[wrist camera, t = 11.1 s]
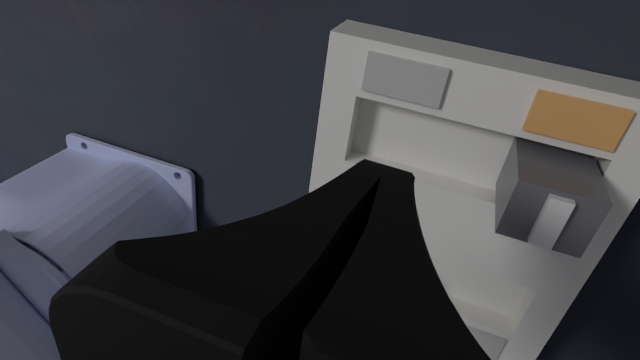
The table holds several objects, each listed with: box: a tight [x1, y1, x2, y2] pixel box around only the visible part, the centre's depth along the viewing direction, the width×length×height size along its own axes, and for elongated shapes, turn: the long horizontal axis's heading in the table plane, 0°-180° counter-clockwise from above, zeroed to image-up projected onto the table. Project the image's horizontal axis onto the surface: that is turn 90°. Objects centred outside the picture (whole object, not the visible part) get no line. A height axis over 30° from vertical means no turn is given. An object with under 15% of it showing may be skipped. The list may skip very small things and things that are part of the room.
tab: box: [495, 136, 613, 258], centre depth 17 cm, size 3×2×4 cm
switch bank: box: [309, 20, 640, 360], centre depth 21 cm, size 13×15×3 cm
